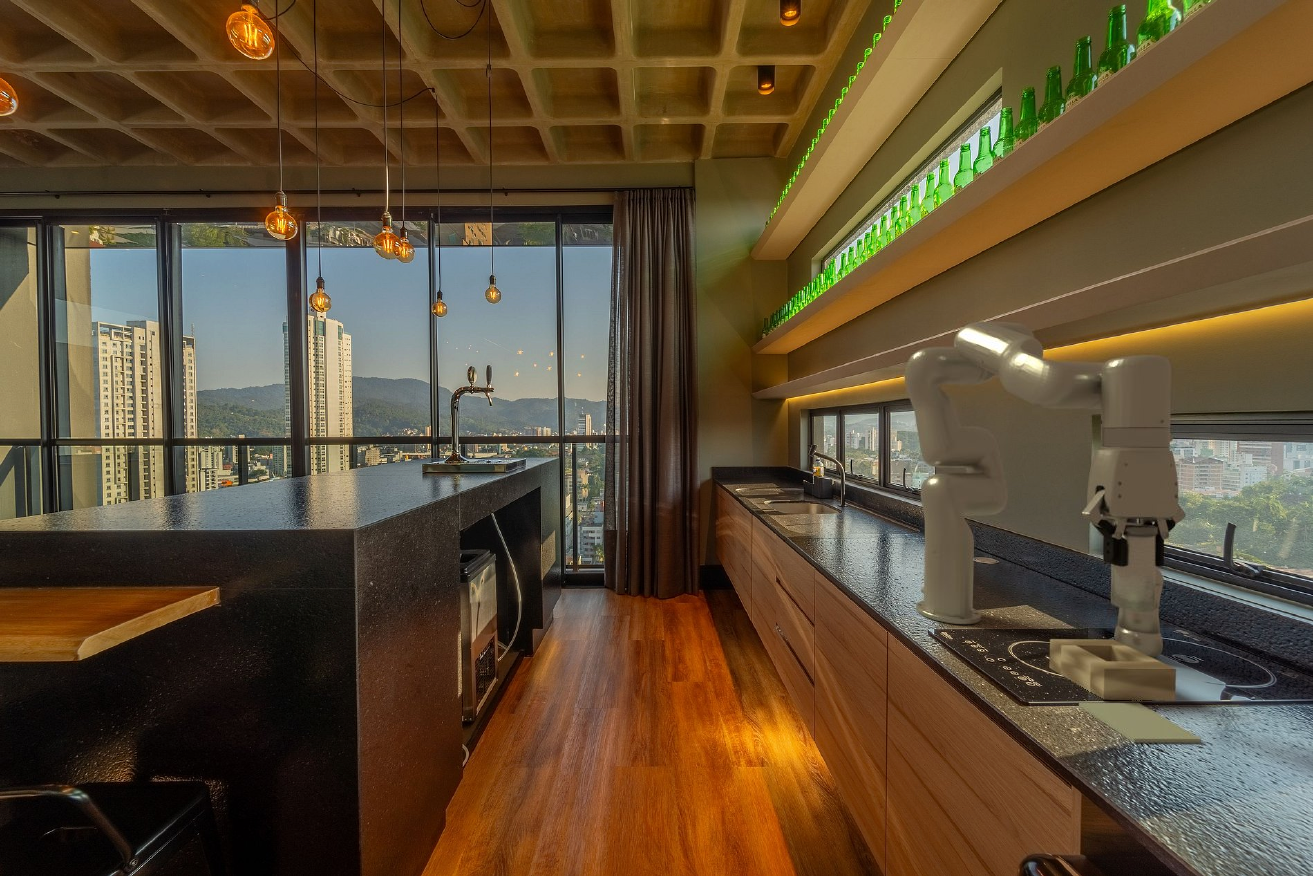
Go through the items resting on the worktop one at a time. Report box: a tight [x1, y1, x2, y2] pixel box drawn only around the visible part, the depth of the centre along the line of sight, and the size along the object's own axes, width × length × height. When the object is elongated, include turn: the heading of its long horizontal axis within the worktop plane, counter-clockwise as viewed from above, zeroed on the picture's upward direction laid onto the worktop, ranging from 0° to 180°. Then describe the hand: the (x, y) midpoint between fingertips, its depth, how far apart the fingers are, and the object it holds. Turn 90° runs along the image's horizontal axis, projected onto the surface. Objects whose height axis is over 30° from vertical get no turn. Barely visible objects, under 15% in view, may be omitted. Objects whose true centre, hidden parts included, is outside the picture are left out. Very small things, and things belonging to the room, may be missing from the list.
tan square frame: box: [1048, 638, 1177, 702], centre depth 85 cm, size 11×11×5 cm
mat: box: [1078, 702, 1202, 744], centre depth 74 cm, size 9×9×1 cm
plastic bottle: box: [1113, 566, 1164, 658], centre depth 96 cm, size 6×7×20 cm
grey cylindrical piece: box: [1110, 521, 1158, 612], centre depth 77 cm, size 5×5×12 cm
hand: (1132, 563), depth 77 cm, fingers closed on grey cylindrical piece, 4 cm apart
